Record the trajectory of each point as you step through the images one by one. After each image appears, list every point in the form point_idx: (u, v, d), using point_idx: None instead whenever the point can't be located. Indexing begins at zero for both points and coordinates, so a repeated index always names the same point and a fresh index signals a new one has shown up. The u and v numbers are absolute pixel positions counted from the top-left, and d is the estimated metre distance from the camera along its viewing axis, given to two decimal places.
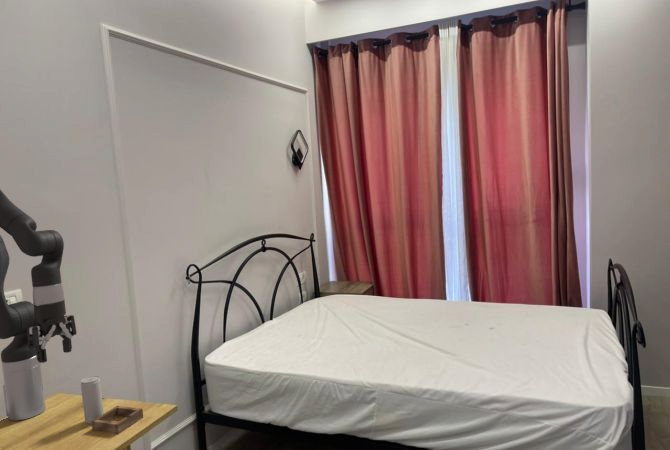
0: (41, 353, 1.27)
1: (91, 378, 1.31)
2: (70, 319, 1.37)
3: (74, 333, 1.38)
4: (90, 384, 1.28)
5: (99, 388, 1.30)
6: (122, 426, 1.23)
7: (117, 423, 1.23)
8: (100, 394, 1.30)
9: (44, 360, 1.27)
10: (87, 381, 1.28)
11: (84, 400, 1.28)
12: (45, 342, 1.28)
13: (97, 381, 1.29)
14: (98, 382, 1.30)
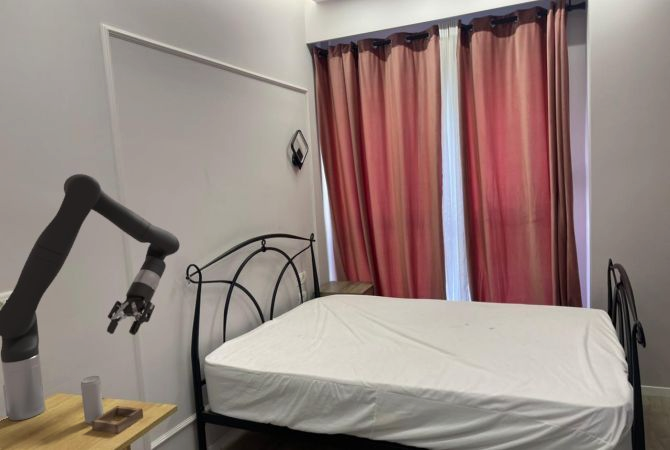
0: None
1: (91, 378, 1.30)
2: (122, 307, 1.48)
3: None
4: (90, 384, 1.28)
5: (99, 388, 1.30)
6: (122, 426, 1.23)
7: (117, 423, 1.23)
8: (100, 394, 1.30)
9: (135, 333, 1.39)
10: (87, 381, 1.28)
11: (84, 400, 1.28)
12: None
13: (97, 381, 1.29)
14: (98, 382, 1.30)
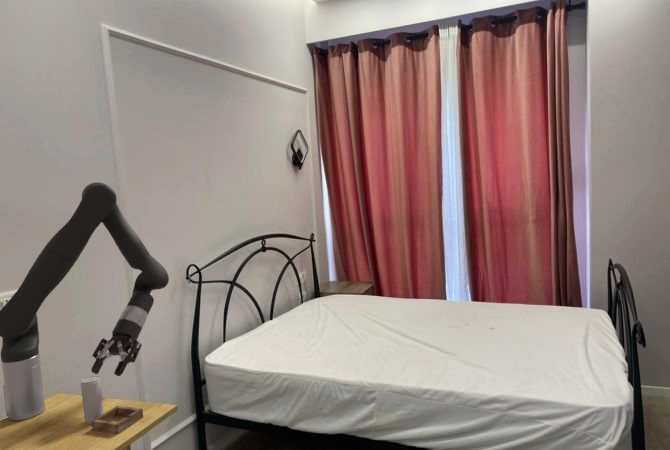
0: None
1: (91, 378, 1.31)
2: (107, 345, 1.43)
3: None
4: (90, 384, 1.28)
5: (99, 388, 1.30)
6: (122, 426, 1.23)
7: (117, 423, 1.23)
8: (100, 394, 1.30)
9: (120, 374, 1.34)
10: (87, 381, 1.28)
11: (84, 400, 1.28)
12: None
13: (97, 381, 1.29)
14: (98, 382, 1.30)
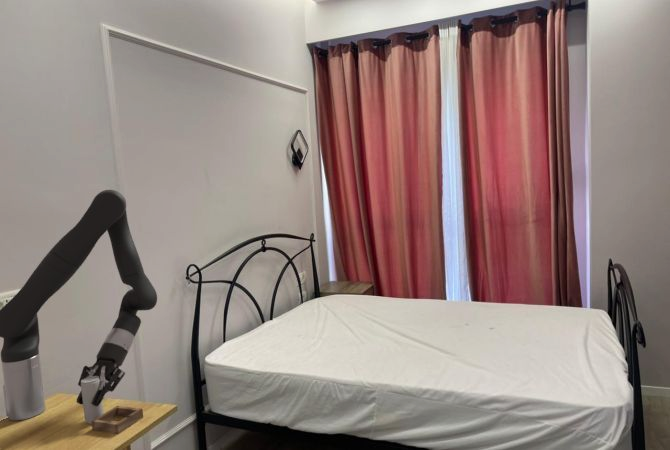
0: None
1: (91, 378, 1.31)
2: (91, 372, 1.37)
3: None
4: (90, 384, 1.28)
5: None
6: (122, 426, 1.23)
7: (117, 423, 1.23)
8: None
9: (98, 404, 1.28)
10: (87, 381, 1.28)
11: (84, 400, 1.28)
12: None
13: (97, 381, 1.29)
14: (98, 382, 1.30)
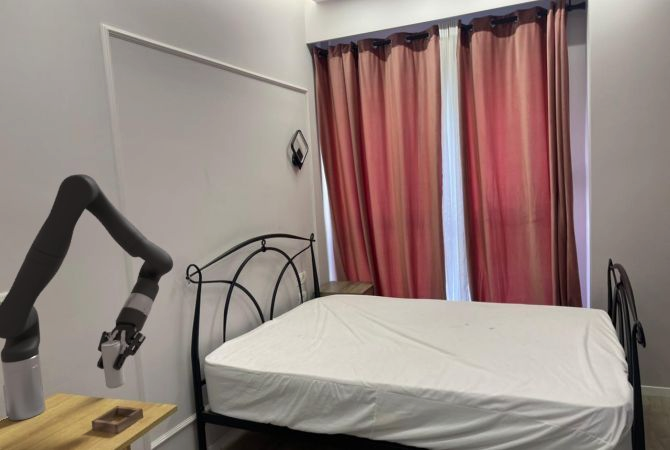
0: None
1: (111, 342, 1.27)
2: (110, 337, 1.33)
3: None
4: (111, 348, 1.25)
5: None
6: (122, 426, 1.23)
7: (117, 423, 1.23)
8: None
9: (119, 368, 1.25)
10: (108, 345, 1.25)
11: (105, 364, 1.25)
12: None
13: (118, 345, 1.26)
14: (119, 346, 1.26)
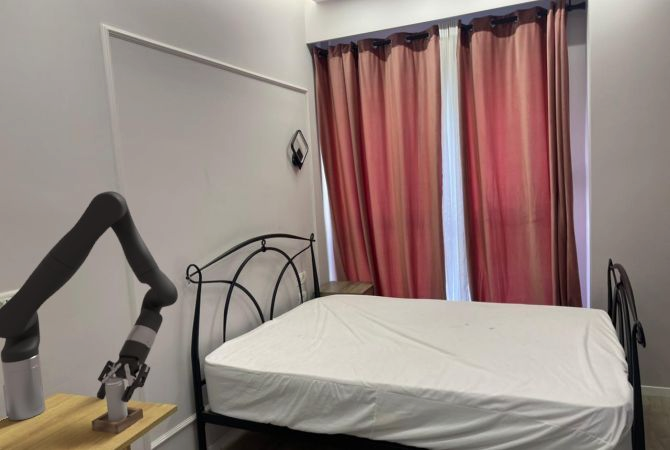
0: None
1: (115, 380, 1.28)
2: (113, 367, 1.34)
3: None
4: (114, 387, 1.25)
5: (123, 390, 1.27)
6: (122, 426, 1.23)
7: (117, 423, 1.23)
8: None
9: (128, 400, 1.25)
10: (111, 383, 1.26)
11: (108, 402, 1.25)
12: None
13: (121, 383, 1.27)
14: (122, 384, 1.27)
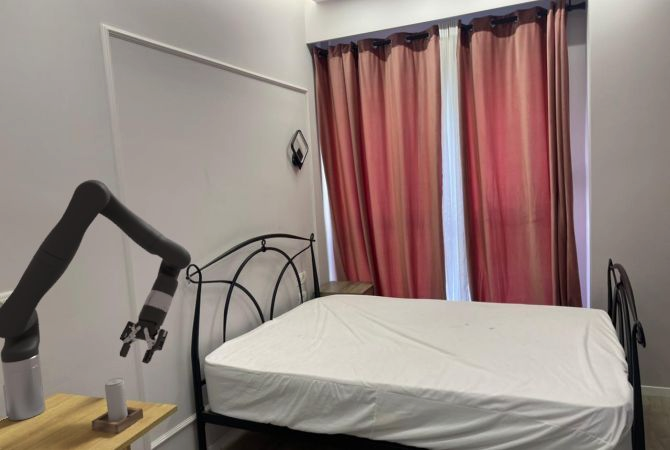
0: None
1: (115, 380, 1.28)
2: None
3: None
4: (114, 387, 1.25)
5: (123, 390, 1.27)
6: (122, 426, 1.23)
7: (117, 423, 1.23)
8: (124, 396, 1.27)
9: (148, 361, 1.37)
10: (111, 383, 1.26)
11: (108, 402, 1.25)
12: None
13: (121, 383, 1.27)
14: (122, 384, 1.27)
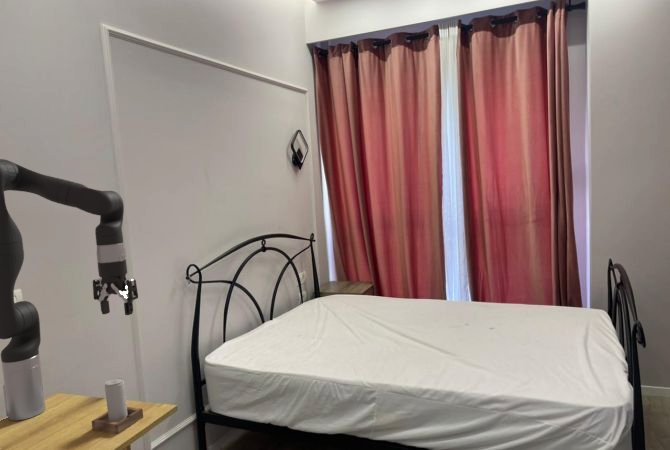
0: None
1: (115, 380, 1.28)
2: None
3: None
4: (114, 387, 1.25)
5: (123, 390, 1.27)
6: (122, 426, 1.23)
7: (117, 423, 1.23)
8: (124, 396, 1.28)
9: None
10: (111, 383, 1.26)
11: (108, 402, 1.25)
12: None
13: (121, 383, 1.27)
14: (122, 384, 1.27)
